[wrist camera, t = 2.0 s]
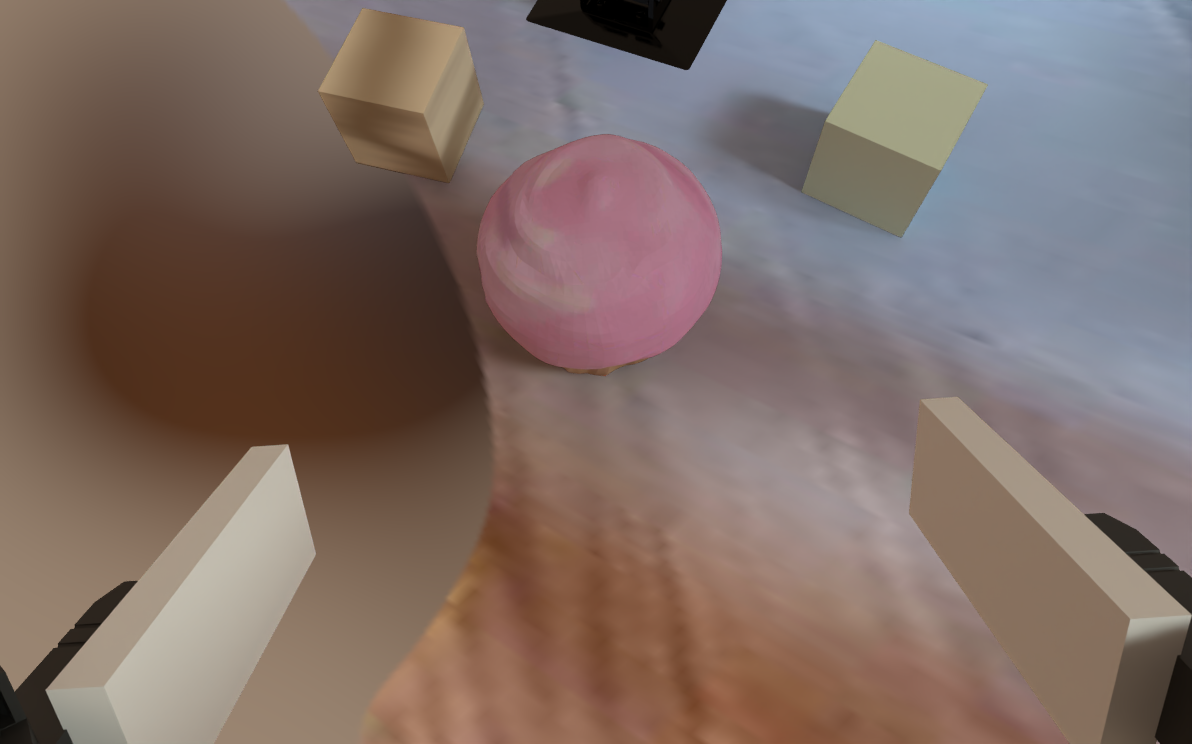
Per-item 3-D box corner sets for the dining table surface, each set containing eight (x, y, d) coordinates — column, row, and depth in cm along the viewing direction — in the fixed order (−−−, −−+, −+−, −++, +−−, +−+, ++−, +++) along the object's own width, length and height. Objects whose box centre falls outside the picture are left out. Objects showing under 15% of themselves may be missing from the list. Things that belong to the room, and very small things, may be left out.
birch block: (484, 105, 39) (464, 27, 35) (449, 184, 38) (423, 113, 33) (394, 86, 40) (362, 8, 35) (356, 163, 38) (317, 91, 34)
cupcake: (660, 218, 36) (669, 57, 27) (738, 378, 33) (778, 258, 24) (480, 281, 35) (425, 137, 26) (542, 451, 32) (503, 356, 23)
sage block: (943, 160, 37) (988, 84, 32) (900, 238, 35) (940, 170, 31) (846, 119, 38) (875, 39, 33) (801, 193, 36) (825, 121, 32)
